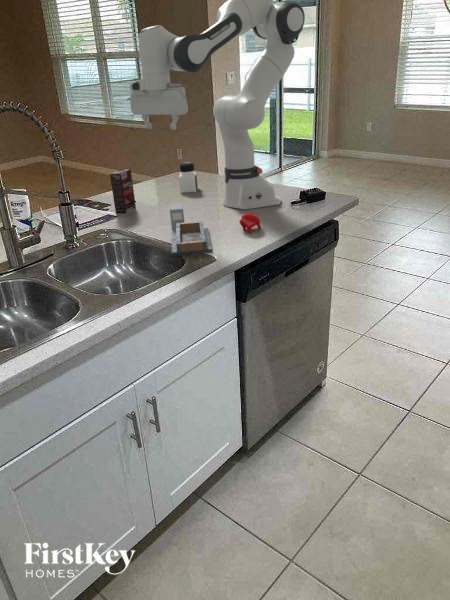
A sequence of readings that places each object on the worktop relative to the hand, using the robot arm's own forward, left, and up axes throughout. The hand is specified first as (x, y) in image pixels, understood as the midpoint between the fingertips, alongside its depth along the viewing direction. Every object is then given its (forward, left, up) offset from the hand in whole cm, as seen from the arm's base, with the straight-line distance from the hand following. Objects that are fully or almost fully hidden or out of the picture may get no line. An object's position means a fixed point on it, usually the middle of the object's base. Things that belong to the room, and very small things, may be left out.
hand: (161, 129), depth 158 cm
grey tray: (-7, +27, -31) cm, 42 cm away
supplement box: (+17, -13, -31) cm, 38 cm away
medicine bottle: (-8, -40, -31) cm, 52 cm away
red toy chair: (-27, +20, -32) cm, 46 cm away
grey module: (-3, +9, -31) cm, 33 cm away
